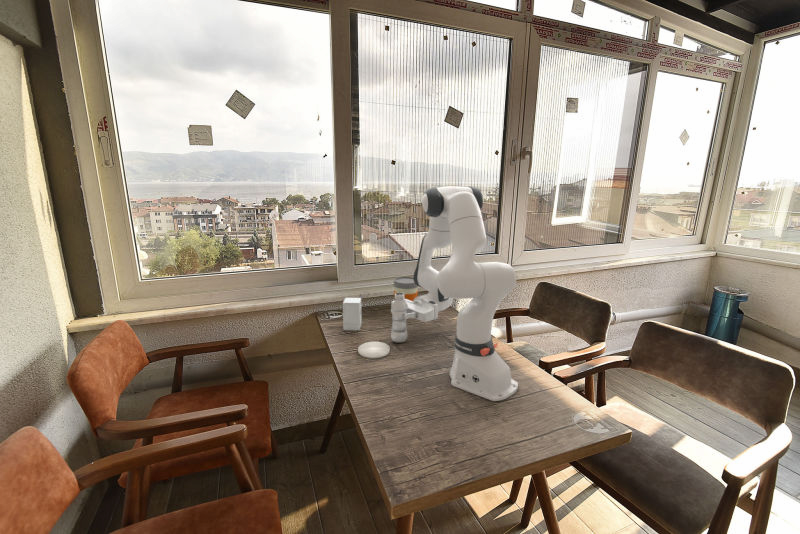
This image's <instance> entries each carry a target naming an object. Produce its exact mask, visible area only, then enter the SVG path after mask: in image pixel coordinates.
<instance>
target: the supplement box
mask: <svg viewBox="0 0 800 534" xmlns="http://www.w3.org/2000/svg"><path fill="white" fill-rule="evenodd" d="M342 323H343V324H342V326H343V327H342V330H343V331H357V330H358V331H361V326H362V297H345V298H344V299H343V302H342Z"/></svg>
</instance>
